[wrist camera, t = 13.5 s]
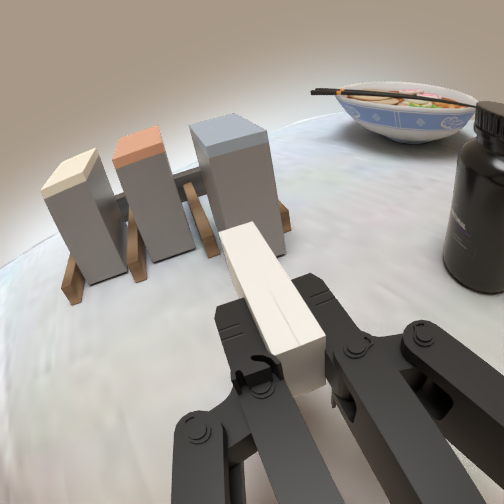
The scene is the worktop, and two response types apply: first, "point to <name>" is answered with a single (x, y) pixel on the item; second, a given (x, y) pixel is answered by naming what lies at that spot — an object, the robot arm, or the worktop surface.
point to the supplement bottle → (479, 205)
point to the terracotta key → (152, 193)
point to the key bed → (188, 189)
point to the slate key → (239, 176)
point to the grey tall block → (88, 216)
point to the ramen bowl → (405, 109)
